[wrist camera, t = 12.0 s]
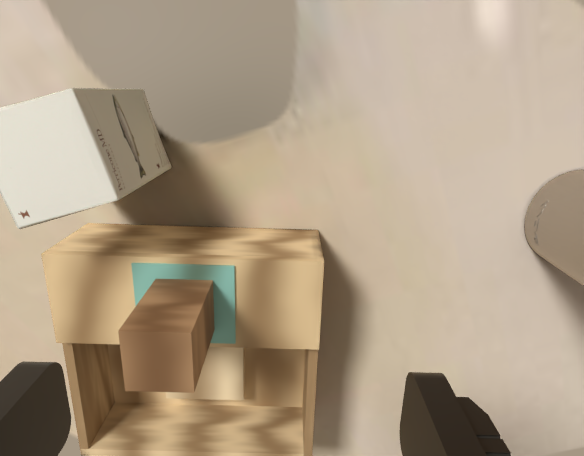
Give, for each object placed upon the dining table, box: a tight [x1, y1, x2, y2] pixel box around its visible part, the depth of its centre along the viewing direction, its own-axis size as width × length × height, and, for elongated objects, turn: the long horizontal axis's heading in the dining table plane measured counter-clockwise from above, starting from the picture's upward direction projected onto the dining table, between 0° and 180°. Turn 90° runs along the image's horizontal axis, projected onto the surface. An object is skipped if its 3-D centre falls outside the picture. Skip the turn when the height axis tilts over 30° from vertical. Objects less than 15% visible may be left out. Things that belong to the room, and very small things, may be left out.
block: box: [118, 279, 215, 393], centre depth 30 cm, size 4×4×8 cm
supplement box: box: [0, 88, 172, 229], centre depth 32 cm, size 7×7×13 cm
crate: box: [41, 223, 324, 456], centre depth 40 cm, size 22×21×8 cm
